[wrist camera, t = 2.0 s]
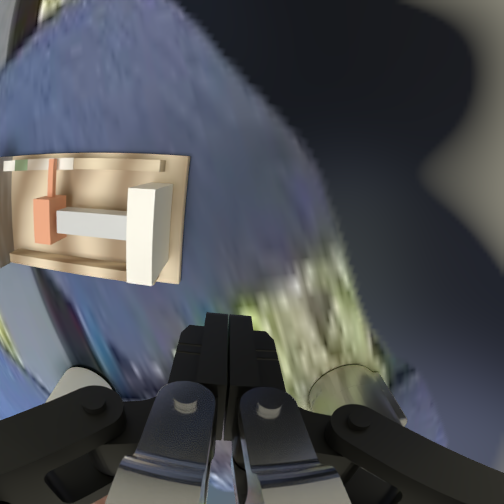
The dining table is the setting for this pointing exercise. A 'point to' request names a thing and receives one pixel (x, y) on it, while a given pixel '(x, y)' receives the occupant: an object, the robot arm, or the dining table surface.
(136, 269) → the plunger
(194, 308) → the dining table surface
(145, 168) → the frame
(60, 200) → the orange stepped bar
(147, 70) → the dining table surface
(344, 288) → the dining table surface
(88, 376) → the beverage can
